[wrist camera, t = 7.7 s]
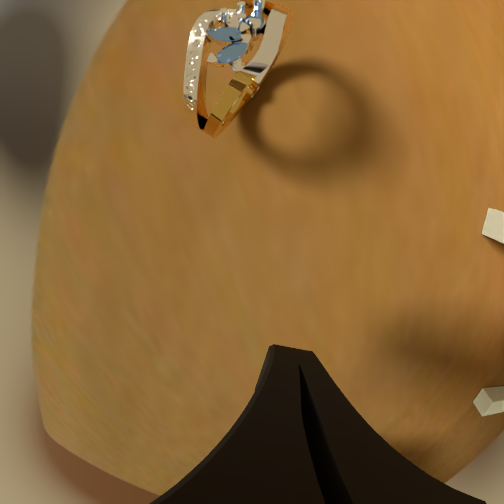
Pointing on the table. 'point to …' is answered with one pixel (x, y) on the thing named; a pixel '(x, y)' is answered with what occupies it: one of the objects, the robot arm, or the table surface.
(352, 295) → the table surface
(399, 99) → the table surface
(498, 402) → the guide
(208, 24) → the ring
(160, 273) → the table surface
